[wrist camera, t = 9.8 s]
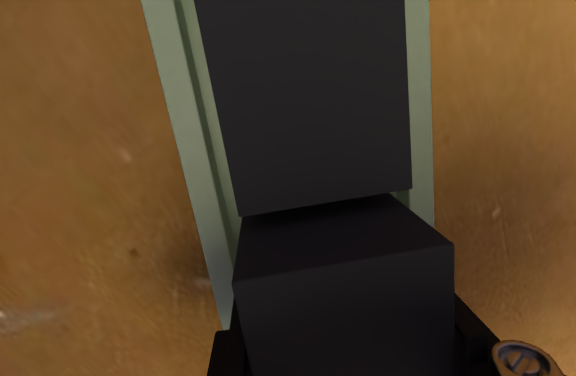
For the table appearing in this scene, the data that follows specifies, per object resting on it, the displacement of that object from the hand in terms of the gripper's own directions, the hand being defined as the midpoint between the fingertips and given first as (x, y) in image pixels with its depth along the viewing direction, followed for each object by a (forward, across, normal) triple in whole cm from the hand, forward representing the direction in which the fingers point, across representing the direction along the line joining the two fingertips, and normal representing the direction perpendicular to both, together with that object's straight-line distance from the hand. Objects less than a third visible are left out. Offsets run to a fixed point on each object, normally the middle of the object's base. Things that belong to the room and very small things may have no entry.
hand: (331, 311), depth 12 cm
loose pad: (0, 0, 0) cm, 0 cm away
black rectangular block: (+3, 0, -8) cm, 9 cm away
